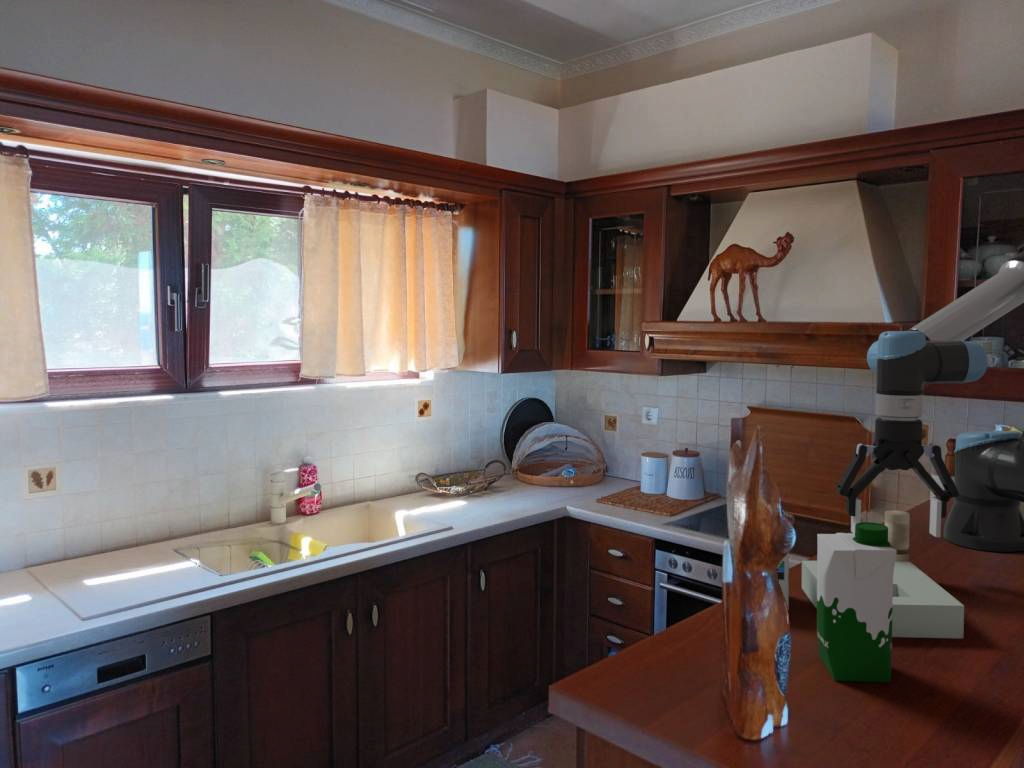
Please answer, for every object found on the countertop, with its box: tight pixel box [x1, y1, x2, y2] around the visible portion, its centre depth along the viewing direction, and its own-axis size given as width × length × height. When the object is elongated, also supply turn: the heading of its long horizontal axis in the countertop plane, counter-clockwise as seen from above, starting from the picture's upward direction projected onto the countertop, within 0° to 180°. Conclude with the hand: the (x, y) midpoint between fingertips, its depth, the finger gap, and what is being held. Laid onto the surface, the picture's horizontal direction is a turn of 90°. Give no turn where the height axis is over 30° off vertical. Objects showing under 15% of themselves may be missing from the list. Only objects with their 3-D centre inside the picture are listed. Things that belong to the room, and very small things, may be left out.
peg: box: [884, 509, 911, 562], centre depth 137 cm, size 4×4×12 cm
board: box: [801, 560, 965, 640], centre depth 123 cm, size 18×20×5 cm
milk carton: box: [816, 521, 897, 683], centre depth 102 cm, size 9×9×20 cm
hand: (894, 534), depth 137 cm, fingers open, 13 cm apart
